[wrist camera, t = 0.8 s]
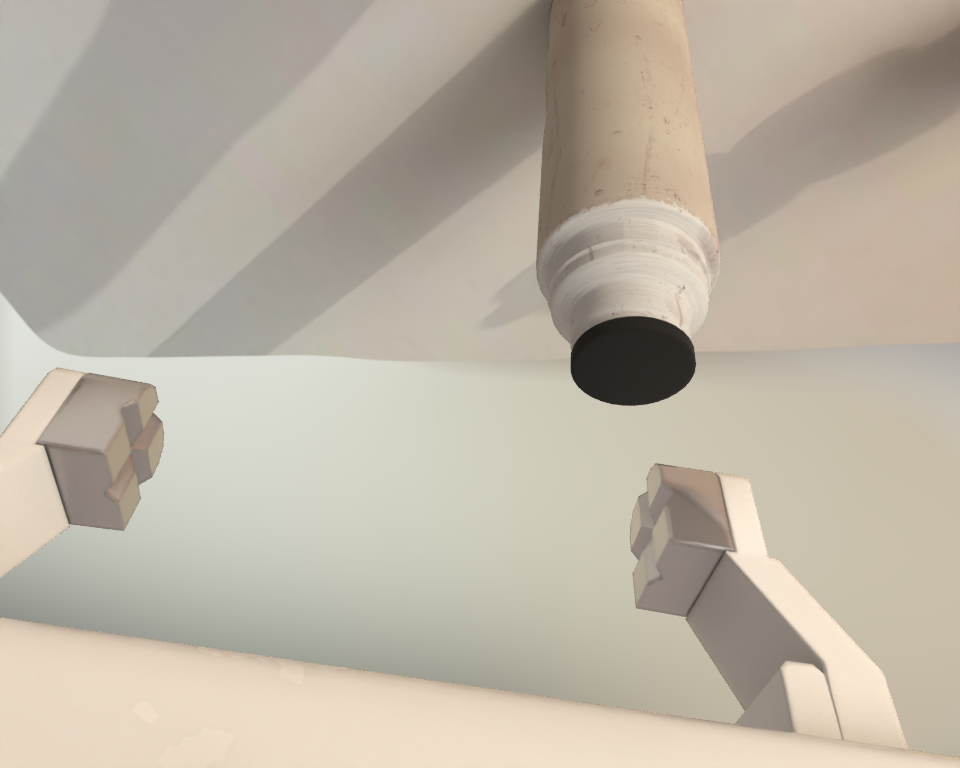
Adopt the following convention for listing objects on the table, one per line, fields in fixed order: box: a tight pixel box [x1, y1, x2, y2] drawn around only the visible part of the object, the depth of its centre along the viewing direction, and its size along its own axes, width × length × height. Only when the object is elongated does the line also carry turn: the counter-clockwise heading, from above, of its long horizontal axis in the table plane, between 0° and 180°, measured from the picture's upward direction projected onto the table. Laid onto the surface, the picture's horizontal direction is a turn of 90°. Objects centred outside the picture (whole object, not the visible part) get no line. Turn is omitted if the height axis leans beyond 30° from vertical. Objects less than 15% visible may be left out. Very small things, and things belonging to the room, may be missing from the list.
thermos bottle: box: [536, 0, 721, 406], centre depth 40 cm, size 8×8×28 cm
